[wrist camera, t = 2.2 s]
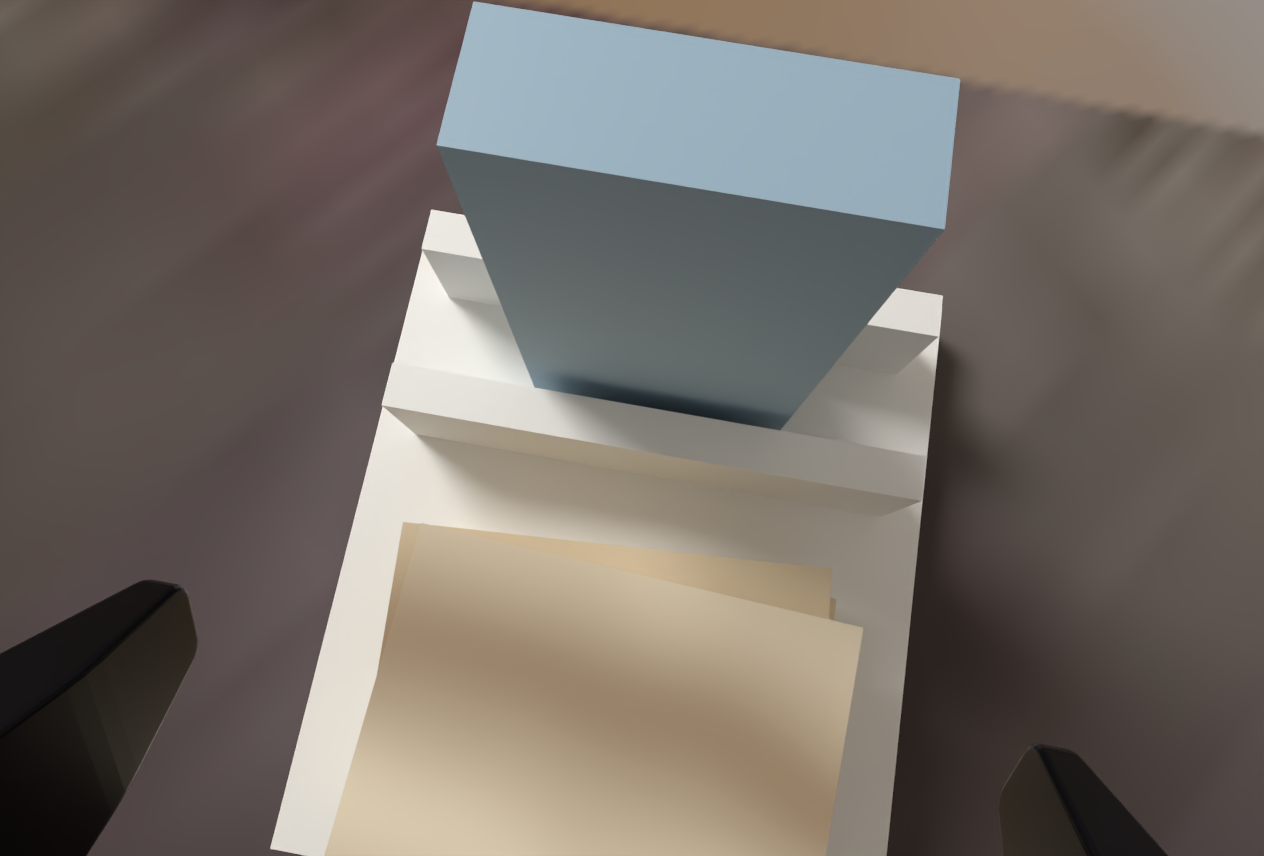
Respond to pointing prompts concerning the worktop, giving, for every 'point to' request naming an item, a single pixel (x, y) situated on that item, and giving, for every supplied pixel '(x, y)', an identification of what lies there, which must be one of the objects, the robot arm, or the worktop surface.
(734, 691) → the offcut stack
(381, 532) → the rack
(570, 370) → the blue rectangular block
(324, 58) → the worktop surface
